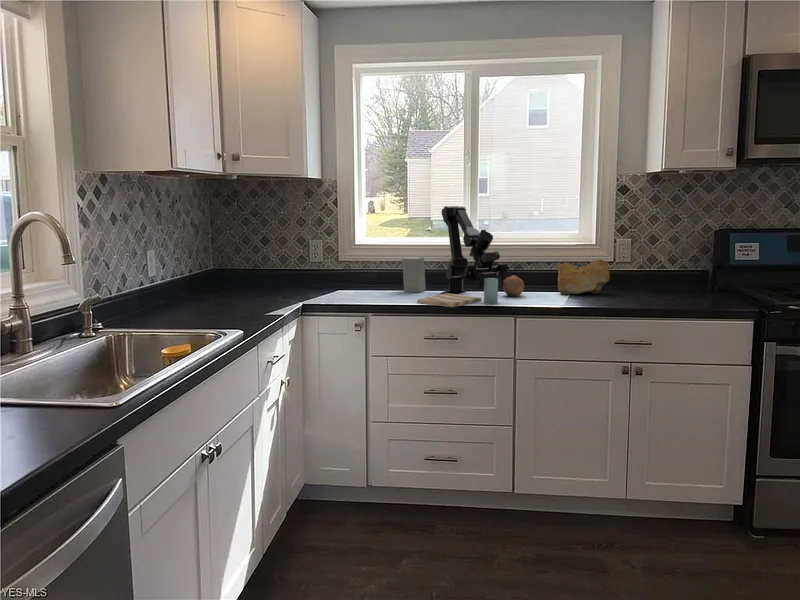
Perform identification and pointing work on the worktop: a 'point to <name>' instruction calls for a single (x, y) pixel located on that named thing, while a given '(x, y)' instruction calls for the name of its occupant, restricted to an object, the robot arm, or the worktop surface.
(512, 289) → the onion
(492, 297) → the ceramic jar
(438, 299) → the oak board
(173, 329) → the worktop surface
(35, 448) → the worktop surface
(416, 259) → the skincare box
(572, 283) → the rough brown rock
